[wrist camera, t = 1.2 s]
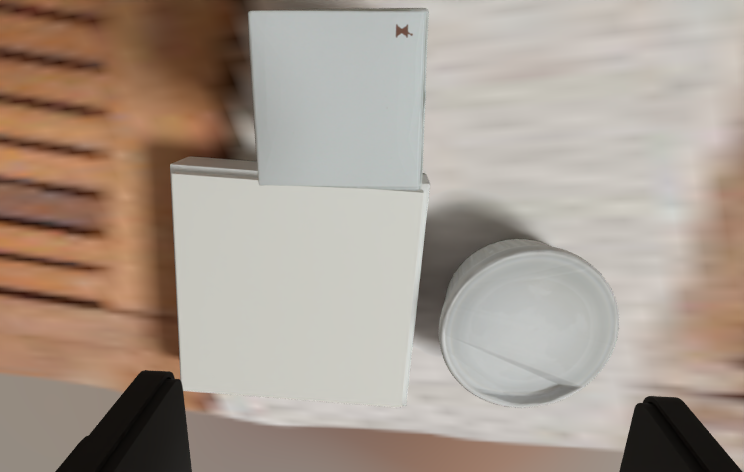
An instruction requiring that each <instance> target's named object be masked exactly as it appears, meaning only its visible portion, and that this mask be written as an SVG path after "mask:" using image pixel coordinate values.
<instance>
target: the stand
mask: <svg viewBox="0 0 744 472" xmlns="http://www.w3.org/2000/svg"><path fill="white" fill-rule="evenodd" d="M170 173H171V194H172V214H173V235H174V255H175V276H176V296H177V317H178V337H179V358H180V379H181V382H182V386H183V391H193V392H205V393H218V394H230V395H243V396H256V397H268V398H281V399H294V400H306V401H319V402H331V403H344V404H357V405H369V406H382V407H395V408H401V406H406V403H407V394H408V384H409V375H410V366H411V357H412V347H413V338H414V329H415V320H416V310H417V301H418V292H419V283H420V273H421V264H422V255H423V245H424V236H425V227H426V218H427V208H428V199H429V190H430V183H429V180H428V177H427V175H426V174H422V186H421V188H420V190H417V191H411V190H386V189H360V188H336V187H312V186H273V185H264V186H260V185H259V183H258V170H257V161H244V160H231V159H218V158H205V157H192V156H189V157H186V158H184V159H182V160H179V161H177V162H174V163H172V164H170Z"/></svg>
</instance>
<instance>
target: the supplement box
mask: <svg viewBox="0 0 744 472" xmlns="http://www.w3.org/2000/svg"><path fill="white" fill-rule="evenodd" d="M428 17H429V12H428V9H426V8H379V9H317V10H272V11H249V12H248V27H249V49H250V64H251V80H252V97H253V112H254V128H255V143H256V157H257V170H258V183H259V185H260V186H264V185H273V186H312V187H336V188H360V189H386V190H411V191H417V190H420V188H421V186H422V173H423V145H424V120H425V101H426V63H427V39H428Z"/></svg>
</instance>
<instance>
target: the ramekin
mask: <svg viewBox="0 0 744 472" xmlns="http://www.w3.org/2000/svg"><path fill="white" fill-rule="evenodd" d="M618 330H619V311H618V306H617V302H616V298H615V296H614V293H613V291H612V289H611V287H610V286H609V284H608V282H607V281H606V280H605V278H604V277H603V275H602V274H601V273H600V272H599V271H598V270H597V269H595V268H594V267H593V266H592V265H591V264H590V263H588V262H587V261H585V260H584V259H582V258H581V257H579V256H577V255H575V254H573V253H571V252H568V251H566V250H563V249H560V248H555V247H552V246H549V245H547V244H545V243H542V242H538V241H535V240H528V239H513V240H504V241H499V242H496V243H494V244H490V245H488V246H486V247H484V248H481V249H480V250H478V251H477V252H475V253H473V254H472V255H471V256H470V257H468V258H467V259H466V260H465V261H464V262H463V263H462V264H461V265H460V266H459V268H458V269H457V271H456V272H455V273H454V275H453V277H452V279H451V281H450V283H449V287H448V289H447V292H446V298H445V303H444V306H443V309H442V312H441V316H440V322H439V342H440V348H441V352H442V355H443V358H444V361H445V363H446V365H447V367H448V369H449V371H450V372H451V374H452V375H453V376H454V378H455V379H456V380H457V381H458V382H459V383H460V384H461V385H462V386H463V387H464V388H465V389H466V390H468V391H469V392H471V393H472V394H474V395H475V396H477V397H479V398H481V399H483V400H485V401H488V402H490V403H493V404H497V405H502V406H506V407H514V408H530V407H538V406H543V405H548V404H552V403H555V402H558V401H561V400H563V399H565V398H568V397H570V396H571V395H573V394H575V393H576V392H578V391H580V390H581V389H583V388H584V387H585V386H586V385H588V384H589V383H590V382H591V381H592V380H593V379H594V378H595V377H596V376H597V375H598V374H599V373H600V372H601V370H602V369H603V368H604V366H605V365H606V363H607V362H608V360H609V358H610V356H611V355H612V352H613V350H614V347H615V344H616V341H617V337H618Z"/></svg>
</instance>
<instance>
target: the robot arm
mask: <svg viewBox="0 0 744 472" xmlns="http://www.w3.org/2000/svg"><path fill="white" fill-rule="evenodd" d="M56 472H192V469H191V460H190V452H189V442H188V432H187V424H186V414H185V405H184V396H183V386H182V382H181V380H179V379H175V378H174V375H173V373H171V372H166V371H147V370H145V371H142V372H141V373H139V374H138V376H137V377H136V378H135V379H134V381H133V382H132V383H131V384H130V386H129V387H128V388H127V389H126V390H125V392H124V393H123V394H122V395H121V397H120V398H119V399H118V400H117V401H116V403H115V404H114V405H113V406H112V408H111V409H110V410H109V411H108V413H107V414H106V415H105V416H104V418H103V419H102V420H101V421H100V422H99V424H98V425H97V426H96V427H95V429H94V430H93V431H92V432H91V434H90V435H89V436H86V437H85V438H84V439H83V440H82V441H81V442H80V443H79V444H78V445H77V446H76V447H75V449H74V450H73V451H72V453H70V455H69V456H68V457H67V458H66V460H65V461H64V462H63V463H62V464H61V466H60V467H59V468H58V469H57V470H56ZM620 472H742V471H741V470H740V468H739V467H738V466H737V465H736V464H735V462H734V461H733V460H732V459H731V458H730V456H729V455H728V454H727V453H726V452H725V451H724V449H723V448H722V447H721V446H720V445H719V443H718V442H717V441H716V440H715V439H714V437H713V436H712V435H711V434H710V433H709V431H708V430H707V429H706V428H705V427H704V426H703V424H702V423H701V422H700V421H699V420H698V418H697V417H696V416H695V415H694V414H693V412H692V411H691V410H690V409H689V408H688V407H687V405H686V404H685V403H684V402H683V401H682V400H681V399H679V398H676V397H657V396H648V397H646V398H645V399H644V401H643V403H638V404H637V405H636V406H635V409H634V413H633V417H632V422H631V426H630V430H629V434H628V438H627V443H626V447H625V451H624V455H623V459H622V463H621V468H620Z"/></svg>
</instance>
